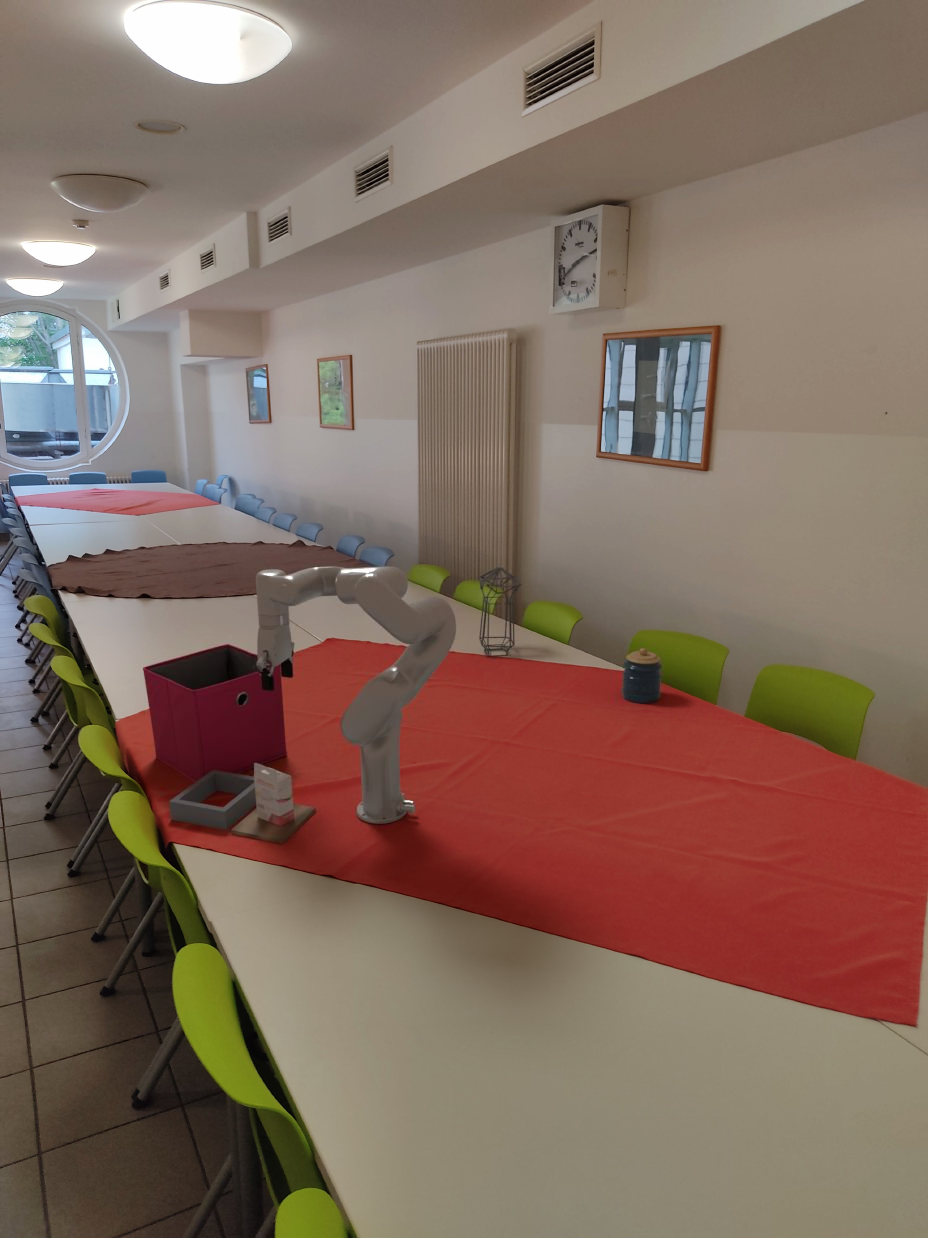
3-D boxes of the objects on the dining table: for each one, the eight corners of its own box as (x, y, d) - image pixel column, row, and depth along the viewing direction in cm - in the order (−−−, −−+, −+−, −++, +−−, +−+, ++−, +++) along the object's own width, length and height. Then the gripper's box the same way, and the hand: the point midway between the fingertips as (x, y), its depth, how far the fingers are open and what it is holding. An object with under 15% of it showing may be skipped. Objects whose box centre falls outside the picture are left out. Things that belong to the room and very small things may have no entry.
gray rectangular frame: (266, 796, 214) (265, 778, 213) (226, 830, 198) (224, 811, 197) (214, 787, 219) (212, 770, 218) (171, 819, 203) (169, 801, 202)
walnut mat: (315, 811, 207) (315, 807, 207) (282, 843, 192) (282, 840, 192) (267, 802, 211) (267, 799, 211) (231, 833, 197) (230, 830, 196)
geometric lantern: (474, 647, 334) (476, 563, 325) (512, 647, 336) (516, 563, 327) (479, 659, 319) (482, 571, 310) (519, 659, 321) (523, 571, 312)
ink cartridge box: (295, 819, 201) (291, 764, 197) (280, 827, 197) (276, 772, 193) (271, 809, 206) (267, 755, 202) (256, 817, 202) (251, 762, 198)
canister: (657, 690, 287) (660, 642, 282) (662, 704, 274) (666, 654, 270) (619, 689, 288) (622, 641, 283) (623, 703, 276) (625, 653, 271)
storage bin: (203, 790, 218) (193, 690, 210) (151, 759, 236) (139, 665, 228) (290, 756, 237) (284, 663, 230) (235, 729, 256) (228, 642, 248)
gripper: (277, 609, 214) (281, 671, 219) (242, 627, 198) (247, 693, 203) (303, 611, 212) (306, 673, 217) (269, 630, 196) (274, 697, 201)
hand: (278, 683), depth 210 cm, fingers open, 9 cm apart
